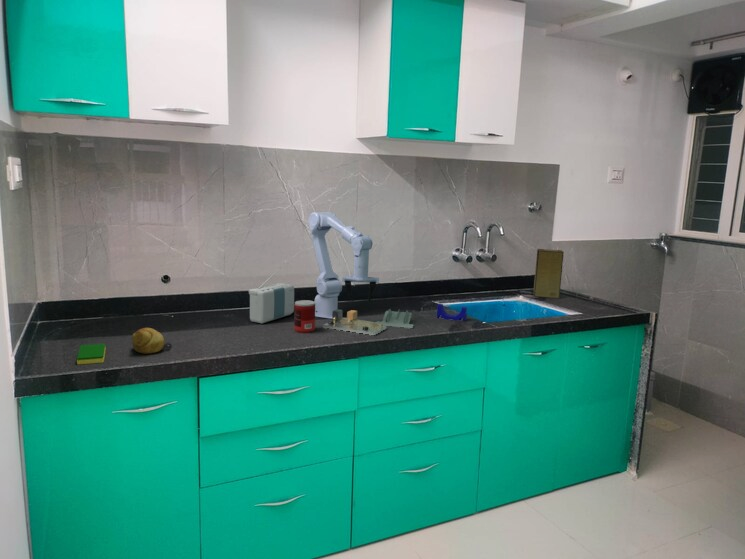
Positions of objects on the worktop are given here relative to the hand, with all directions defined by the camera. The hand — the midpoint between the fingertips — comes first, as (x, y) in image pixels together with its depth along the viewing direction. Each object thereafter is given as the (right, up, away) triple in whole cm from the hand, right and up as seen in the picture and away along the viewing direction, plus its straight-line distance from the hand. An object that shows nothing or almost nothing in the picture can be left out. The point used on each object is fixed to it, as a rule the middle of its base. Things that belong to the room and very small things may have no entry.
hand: (359, 300), depth 221 cm
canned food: (-21, -11, -10) cm, 26 cm away
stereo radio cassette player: (-36, -8, +7) cm, 38 cm away
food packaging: (+99, -1, +78) cm, 126 cm away
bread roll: (-68, -15, -40) cm, 80 cm away
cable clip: (+39, -9, +19) cm, 44 cm away
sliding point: (-3, -9, -1) cm, 9 cm away
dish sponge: (-82, -16, -49) cm, 97 cm away
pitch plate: (-2, -11, -4) cm, 12 cm away
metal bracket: (+15, -10, +7) cm, 20 cm away
